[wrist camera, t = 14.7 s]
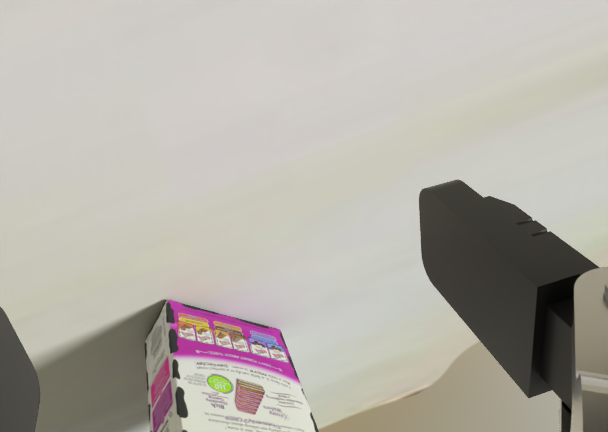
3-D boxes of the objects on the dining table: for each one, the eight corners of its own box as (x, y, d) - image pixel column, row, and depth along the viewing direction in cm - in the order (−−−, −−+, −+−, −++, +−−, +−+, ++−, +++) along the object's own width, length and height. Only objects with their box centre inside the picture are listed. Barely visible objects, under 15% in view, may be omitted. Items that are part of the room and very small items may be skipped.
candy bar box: (141, 343, 47) (149, 521, 33) (165, 296, 46) (183, 462, 32) (258, 370, 52) (307, 535, 38) (283, 328, 51) (343, 484, 37)
